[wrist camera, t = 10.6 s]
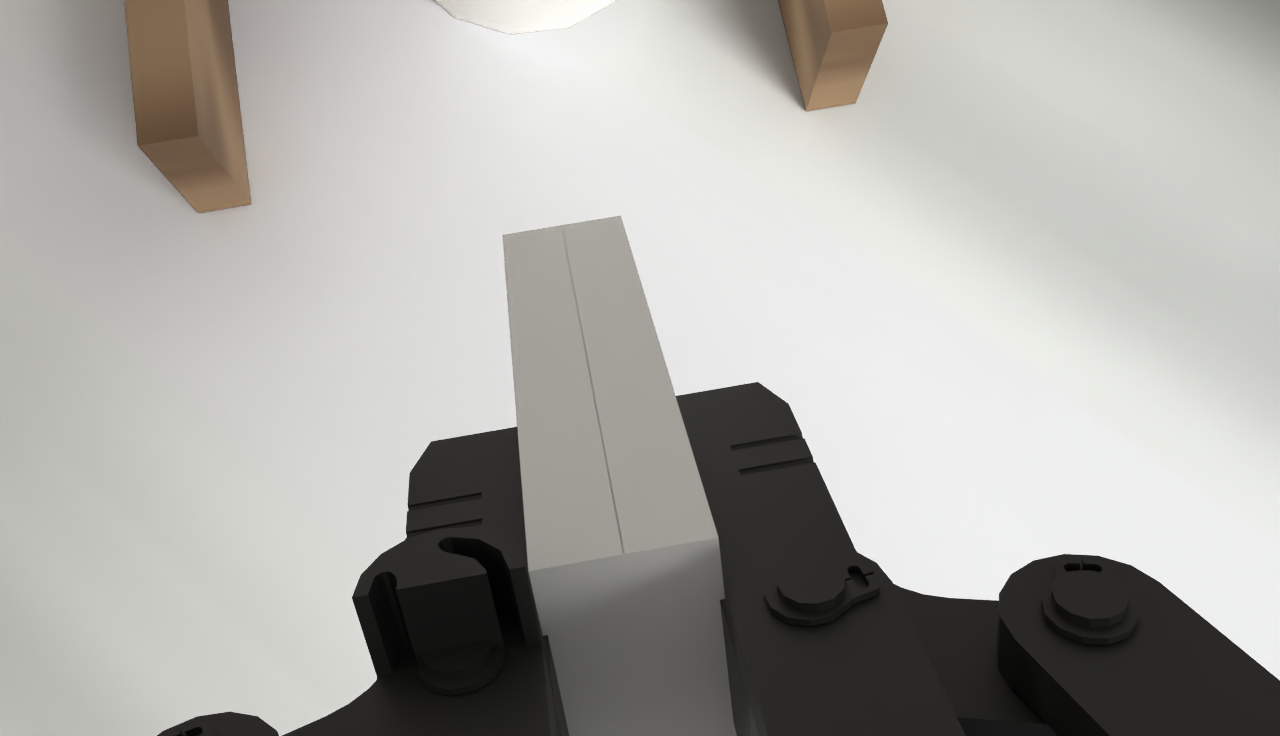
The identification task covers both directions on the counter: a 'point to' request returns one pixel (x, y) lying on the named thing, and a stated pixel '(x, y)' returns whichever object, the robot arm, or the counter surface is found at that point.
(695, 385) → the counter surface
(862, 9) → the brown bent bar
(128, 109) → the counter surface
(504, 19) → the foam cup
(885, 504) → the counter surface
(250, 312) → the counter surface
